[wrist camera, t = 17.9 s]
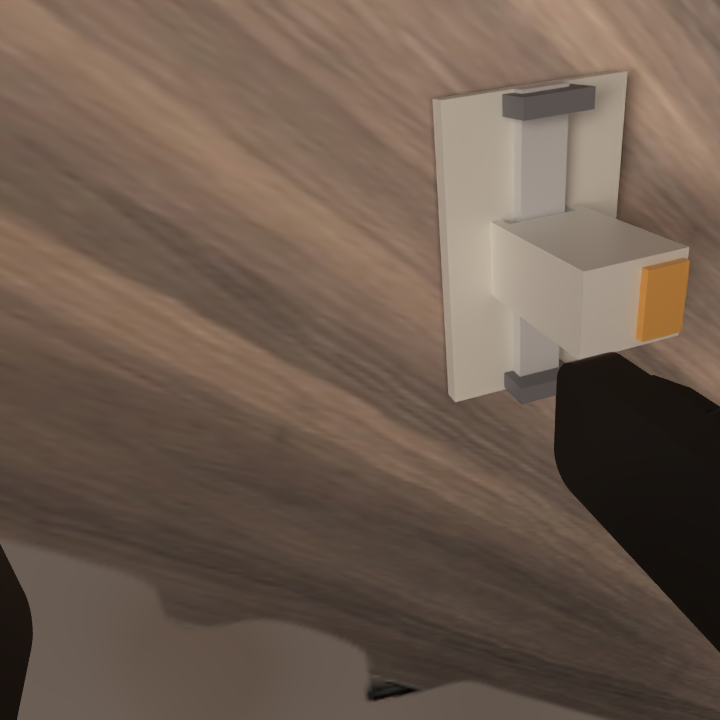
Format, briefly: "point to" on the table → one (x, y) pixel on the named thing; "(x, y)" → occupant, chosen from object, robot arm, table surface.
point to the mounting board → (515, 212)
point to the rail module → (590, 280)
